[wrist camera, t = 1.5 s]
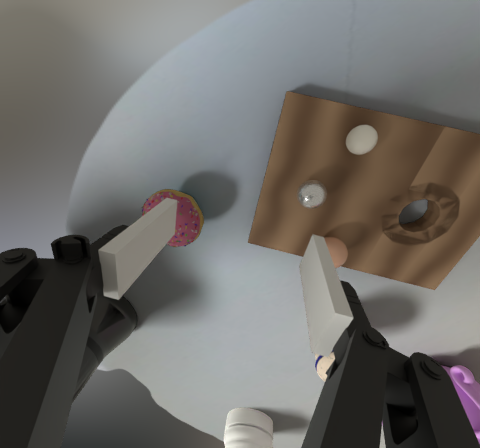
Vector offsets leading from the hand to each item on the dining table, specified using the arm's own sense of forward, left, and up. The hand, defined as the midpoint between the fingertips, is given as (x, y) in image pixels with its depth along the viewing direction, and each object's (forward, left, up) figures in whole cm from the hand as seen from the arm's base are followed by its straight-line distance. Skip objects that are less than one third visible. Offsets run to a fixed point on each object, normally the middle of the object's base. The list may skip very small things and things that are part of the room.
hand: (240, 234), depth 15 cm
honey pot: (+14, -68, -18) cm, 72 cm away
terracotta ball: (+12, -7, -13) cm, 19 cm away
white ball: (+10, +7, -14) cm, 18 cm away
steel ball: (+7, 0, -13) cm, 15 cm away
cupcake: (-10, -8, -18) cm, 22 cm away
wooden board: (+15, 0, -18) cm, 23 cm away
